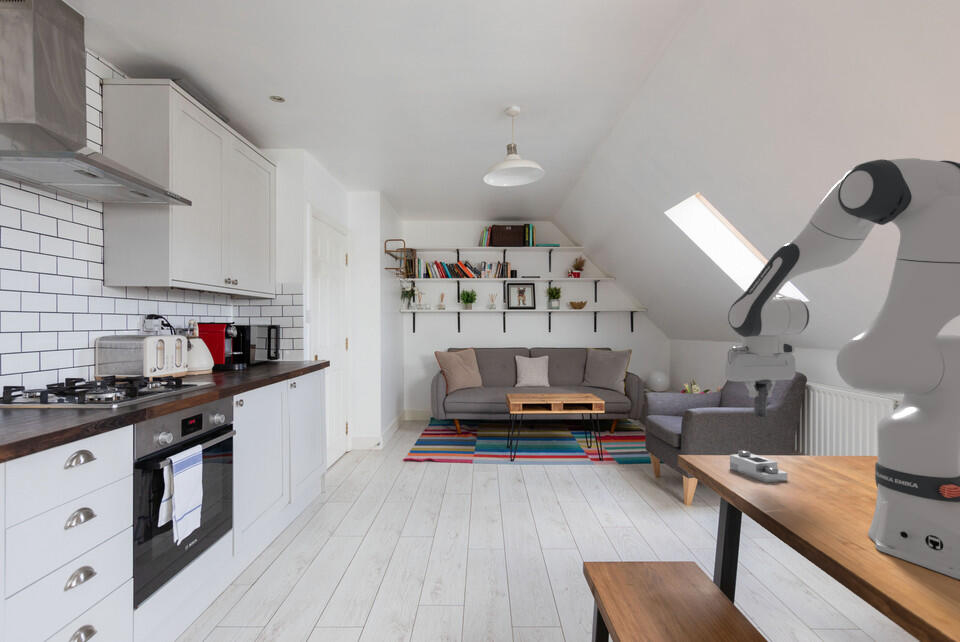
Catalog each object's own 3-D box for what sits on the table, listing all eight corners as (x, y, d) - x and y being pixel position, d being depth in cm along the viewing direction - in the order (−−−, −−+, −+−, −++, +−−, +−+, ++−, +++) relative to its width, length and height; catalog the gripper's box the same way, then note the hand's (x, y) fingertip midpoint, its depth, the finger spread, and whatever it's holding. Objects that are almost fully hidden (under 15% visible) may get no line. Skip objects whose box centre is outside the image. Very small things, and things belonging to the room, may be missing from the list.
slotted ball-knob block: (787, 480, 121) (787, 461, 121) (765, 482, 119) (765, 463, 119) (750, 467, 133) (750, 449, 133) (730, 469, 131) (729, 451, 131)
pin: (773, 416, 125) (773, 379, 125) (760, 417, 124) (760, 380, 124) (760, 413, 129) (760, 378, 129) (747, 414, 128) (747, 378, 128)
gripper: (736, 347, 121) (737, 400, 121) (799, 346, 126) (800, 397, 126) (719, 346, 127) (719, 396, 127) (780, 345, 132) (780, 393, 132)
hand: (760, 396), depth 126 cm, fingers closed on pin, 3 cm apart
